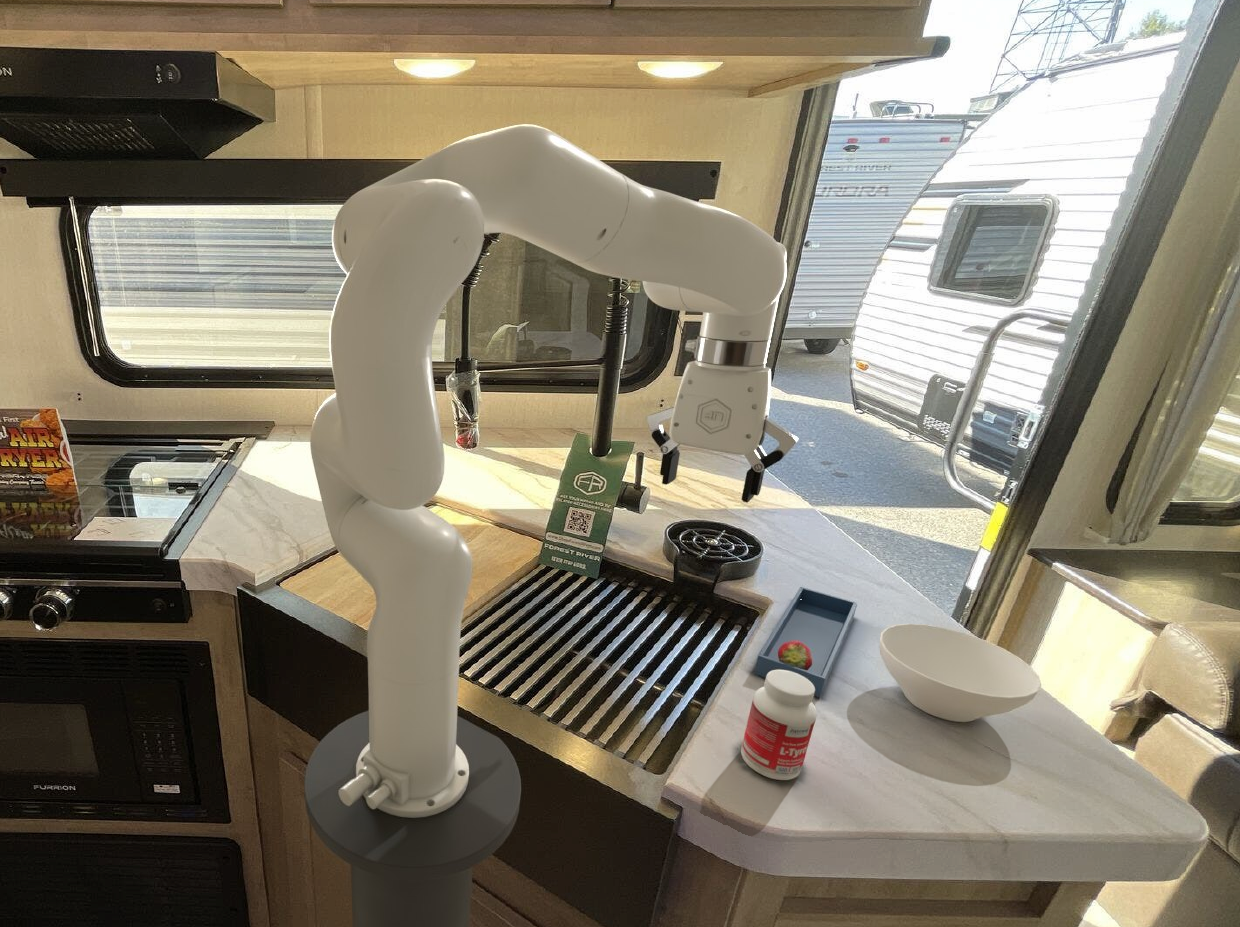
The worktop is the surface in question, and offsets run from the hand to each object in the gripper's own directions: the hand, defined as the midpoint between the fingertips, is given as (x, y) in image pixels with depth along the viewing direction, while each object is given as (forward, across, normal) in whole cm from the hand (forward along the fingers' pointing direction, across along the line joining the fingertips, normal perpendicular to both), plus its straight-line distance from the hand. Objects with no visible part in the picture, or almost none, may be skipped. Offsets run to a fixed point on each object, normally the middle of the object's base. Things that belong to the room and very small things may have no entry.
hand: (706, 490), depth 83 cm
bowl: (+26, +29, +14) cm, 42 cm away
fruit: (+26, +13, +9) cm, 30 cm away
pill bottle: (+26, +15, -12) cm, 33 cm away
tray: (+26, +13, +18) cm, 34 cm away
